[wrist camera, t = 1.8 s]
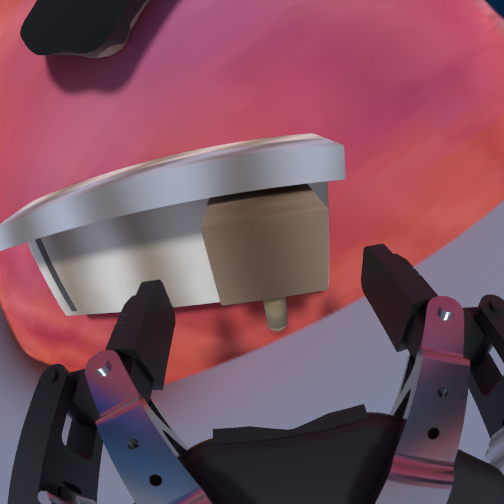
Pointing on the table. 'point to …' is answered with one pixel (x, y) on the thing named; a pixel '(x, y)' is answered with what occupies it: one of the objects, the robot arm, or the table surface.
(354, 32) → the table surface
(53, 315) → the table surface
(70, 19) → the black sponge
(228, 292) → the brown block with peg
